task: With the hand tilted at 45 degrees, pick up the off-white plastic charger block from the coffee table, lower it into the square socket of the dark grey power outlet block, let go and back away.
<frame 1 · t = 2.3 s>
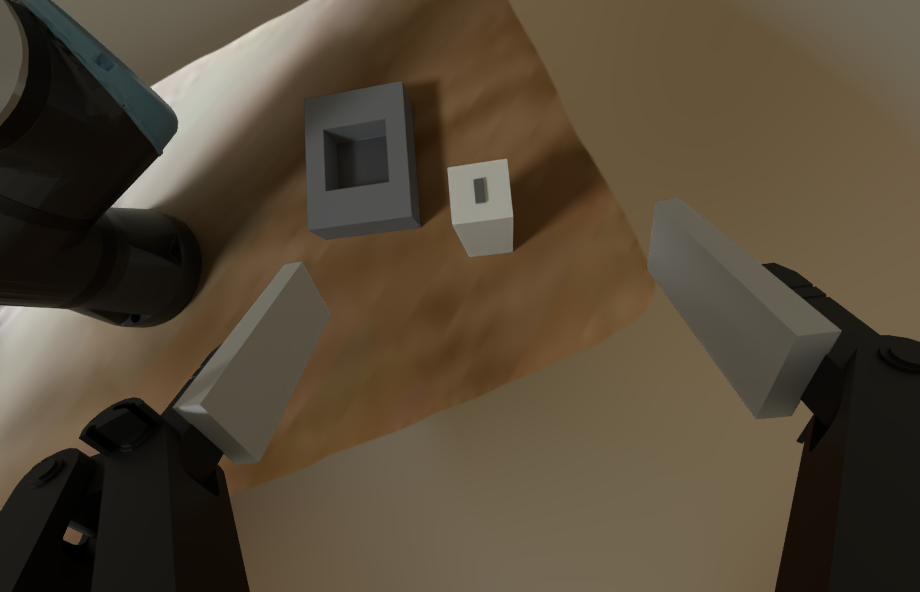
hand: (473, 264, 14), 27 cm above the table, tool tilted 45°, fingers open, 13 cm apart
outlet block: (369, 171, 44), on the table
charger: (488, 233, 41), on the table
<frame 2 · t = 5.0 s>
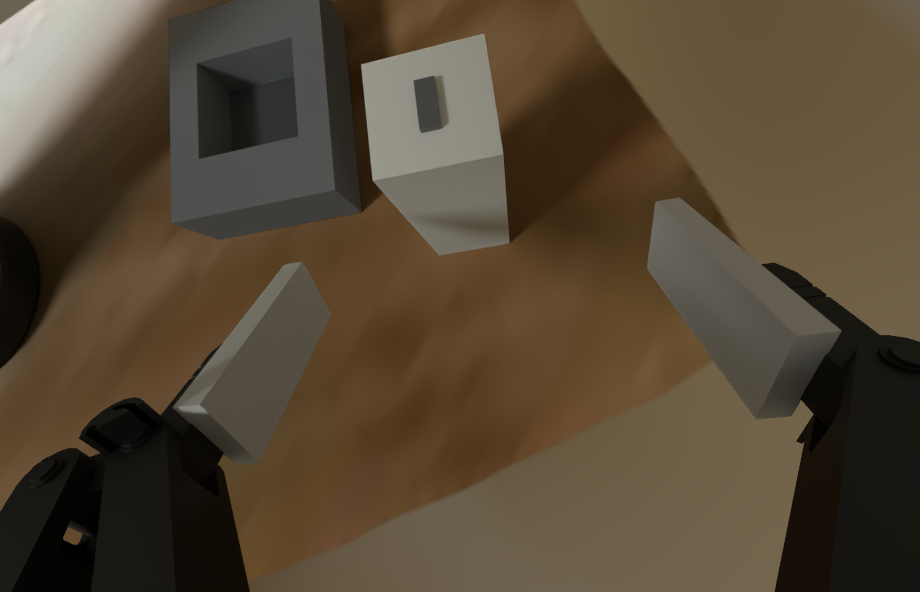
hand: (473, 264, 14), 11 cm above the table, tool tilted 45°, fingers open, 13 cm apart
outlet block: (282, 131, 29), on the table
charger: (469, 215, 25), on the table
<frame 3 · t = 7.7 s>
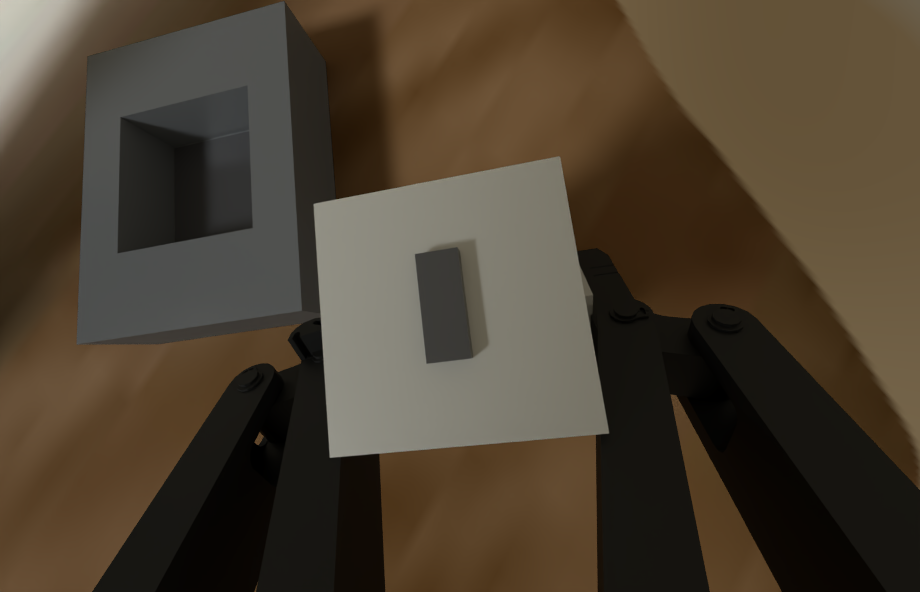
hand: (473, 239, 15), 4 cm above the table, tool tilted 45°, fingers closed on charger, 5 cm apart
outlet block: (242, 200, 22), on the table
charger: (491, 330, 18), on the table, touching gripper
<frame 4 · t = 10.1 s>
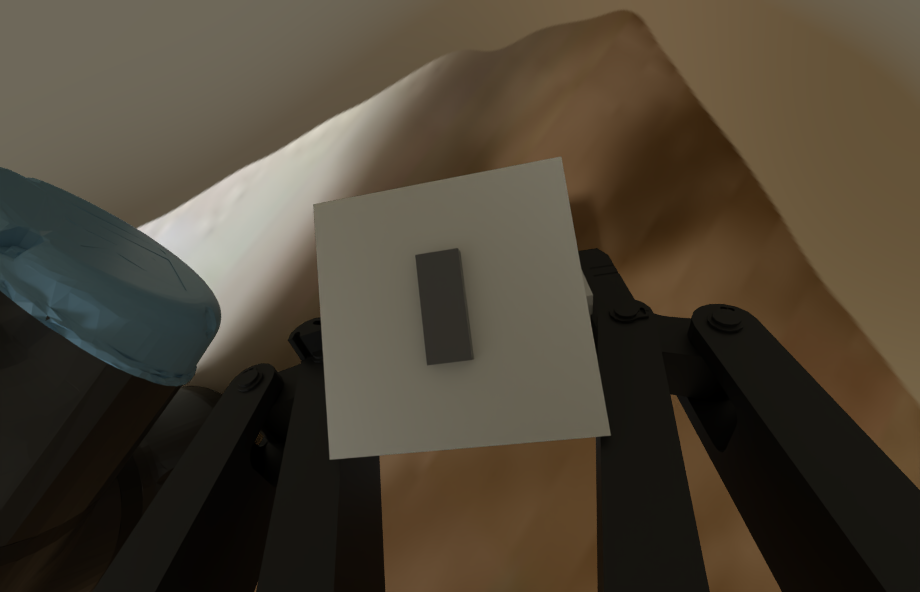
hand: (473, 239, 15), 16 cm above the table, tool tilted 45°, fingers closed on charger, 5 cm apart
charger: (491, 330, 18), point 12 cm above the table, touching gripper
when the fingers open (6 cm above the table, at t = 12.4 s): charger drops 1 cm, resting on outlet block.
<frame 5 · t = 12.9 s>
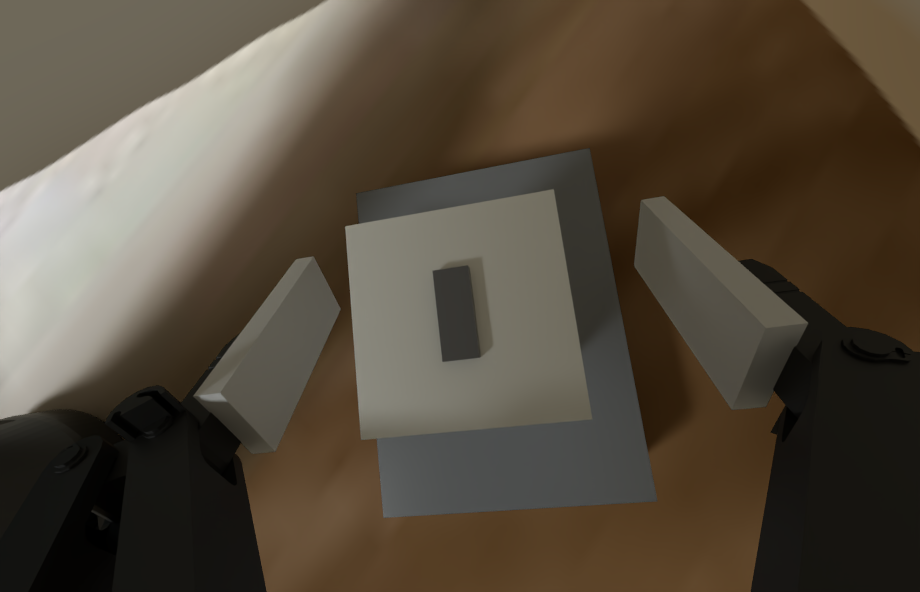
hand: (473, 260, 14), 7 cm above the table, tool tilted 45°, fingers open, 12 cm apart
outlet block: (494, 331, 21), on the table
charger: (493, 331, 20), point 1 cm above the table, touching outlet block
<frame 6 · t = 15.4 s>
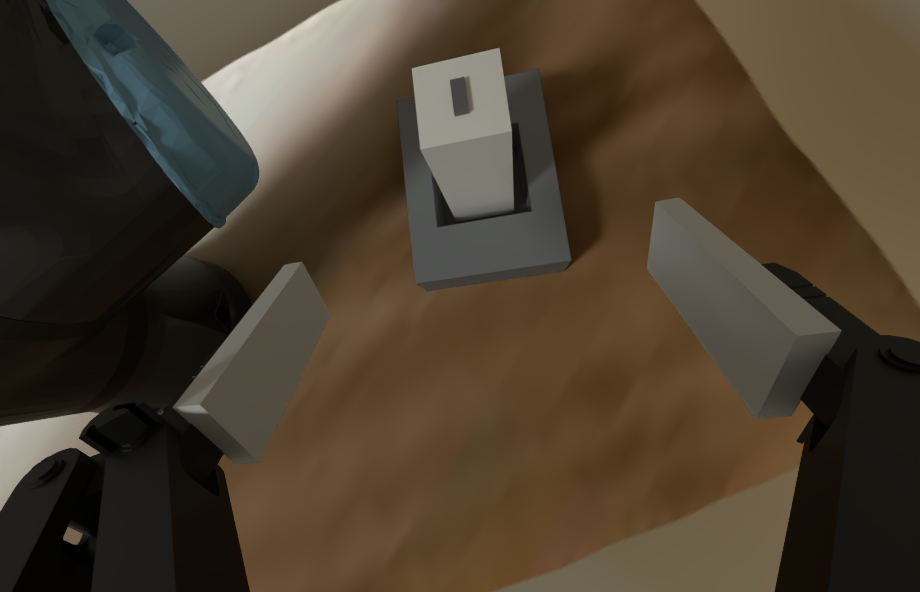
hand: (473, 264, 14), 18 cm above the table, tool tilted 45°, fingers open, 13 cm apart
outlet block: (482, 195, 32), on the table
charger: (481, 190, 31), point 1 cm above the table, touching outlet block
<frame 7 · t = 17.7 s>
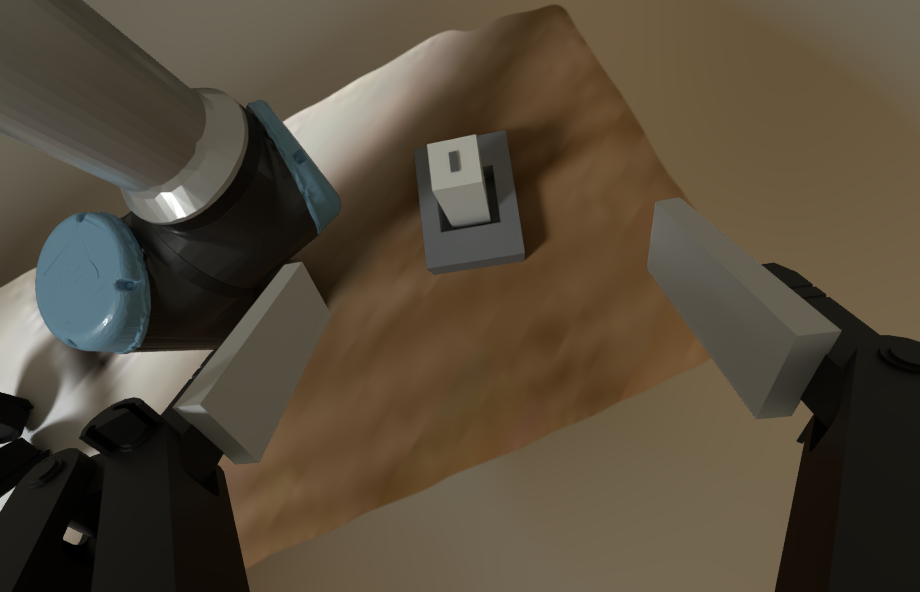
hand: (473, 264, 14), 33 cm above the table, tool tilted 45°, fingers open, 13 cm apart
headphones: (33, 436, 55), on the table
outlet block: (470, 210, 48), on the table
charger: (469, 207, 47), point 1 cm above the table, touching outlet block
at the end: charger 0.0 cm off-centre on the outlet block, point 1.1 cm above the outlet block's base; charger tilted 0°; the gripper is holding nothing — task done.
